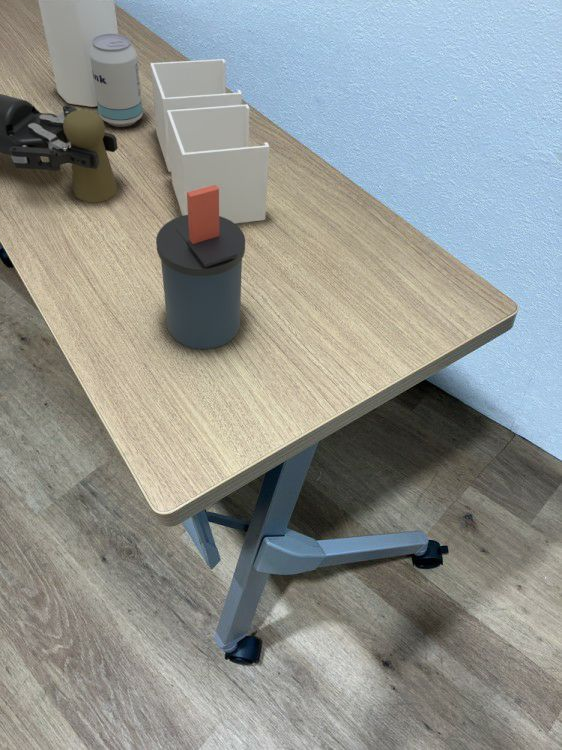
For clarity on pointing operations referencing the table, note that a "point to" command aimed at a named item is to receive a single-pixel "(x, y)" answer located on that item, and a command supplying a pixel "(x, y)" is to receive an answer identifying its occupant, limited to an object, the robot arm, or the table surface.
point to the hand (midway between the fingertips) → (106, 152)
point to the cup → (75, 43)
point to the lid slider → (206, 227)
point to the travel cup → (200, 286)
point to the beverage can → (116, 79)
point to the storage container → (209, 138)
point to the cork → (89, 134)
